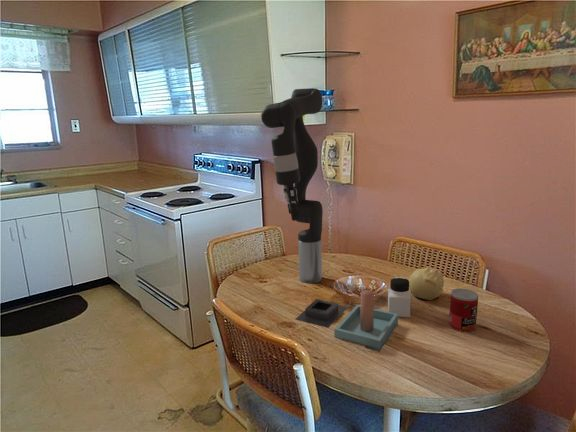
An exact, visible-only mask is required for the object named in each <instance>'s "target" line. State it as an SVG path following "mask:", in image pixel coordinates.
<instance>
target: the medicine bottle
mask: <svg viewBox="0 0 576 432" xmlns="http://www.w3.org/2000/svg"><path fill="white" fill-rule="evenodd" d="M411 295H412V293H411V291H410V288H409V279H408V278H406V277H400V276H396V277H393V278H391V279H390V287H389V288H388V290H387V312H391V313H396V314H398V318H408V317H410V318H411V317H412V315H411V314H412V296H411Z"/></svg>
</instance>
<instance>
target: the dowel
mask: <svg viewBox="0 0 576 432" xmlns="http://www.w3.org/2000/svg"><path fill="white" fill-rule="evenodd" d="M360 306H361V312H360V329H361V330H362V331H364V332H371V331H373V328H374V309H375V292H374V291H373V290H369V289H365V290H361V292H360Z"/></svg>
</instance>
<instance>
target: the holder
mask: <svg viewBox="0 0 576 432" xmlns="http://www.w3.org/2000/svg"><path fill="white" fill-rule="evenodd" d="M347 309H348V306H345V305H342V304H341V305H340V304H339V303H338V302H337V303H336V302H332V301H327V300H322V299H318V298H316V299H315V300H314V301H313V302H311V303H310V304H308V305H307V307H305V310H304V311H302V313H300V314H299V315H298V316H297V317H295V318H294V319H295V321H300V322H304V323H306V324H307V323H308V324H310V325H315V326H318V327H319V326H320V327H323V328H327V329H328V328H330V327H331V326H332V324H333V323H335V321H336V320H337V319H338V318H339V317H340V316H341V315H342V314H343V313H344V312H345V311H346V310H347Z"/></svg>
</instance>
